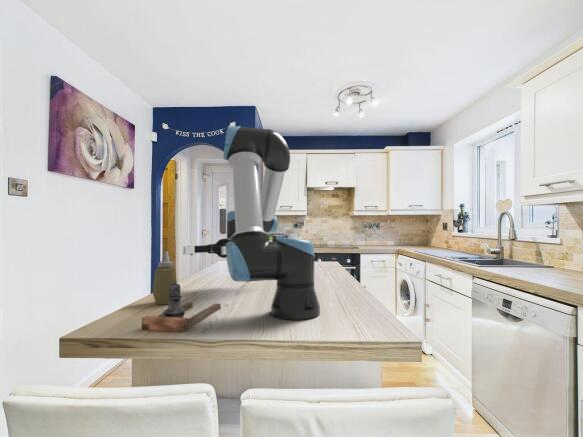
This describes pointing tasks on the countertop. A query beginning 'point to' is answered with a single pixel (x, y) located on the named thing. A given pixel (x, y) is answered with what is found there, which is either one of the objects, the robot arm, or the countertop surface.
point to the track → (177, 319)
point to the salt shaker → (174, 302)
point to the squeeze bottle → (163, 280)
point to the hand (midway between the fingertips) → (203, 250)
